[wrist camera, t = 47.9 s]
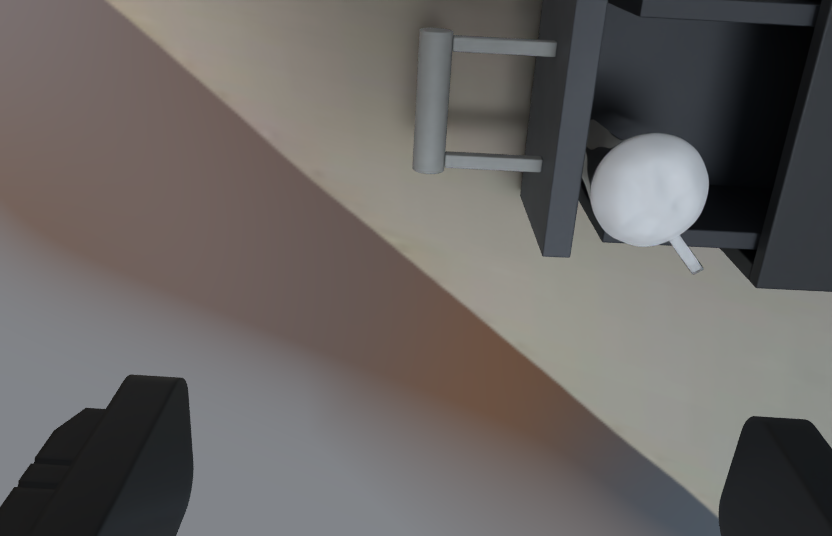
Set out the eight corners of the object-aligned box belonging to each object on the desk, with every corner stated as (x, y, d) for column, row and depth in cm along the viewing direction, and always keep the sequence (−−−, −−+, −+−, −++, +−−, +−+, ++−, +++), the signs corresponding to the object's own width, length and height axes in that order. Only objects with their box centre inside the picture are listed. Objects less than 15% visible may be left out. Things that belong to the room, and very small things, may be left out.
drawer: (410, 190, 40) (408, 250, 32) (422, -47, 35) (423, -38, 28) (776, 209, 40) (854, 272, 33) (838, -24, 35) (944, -9, 28)
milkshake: (591, 218, 39) (643, 301, 30) (541, 129, 37) (580, 186, 28) (674, 173, 38) (754, 243, 29) (626, 79, 36) (696, 121, 27)
